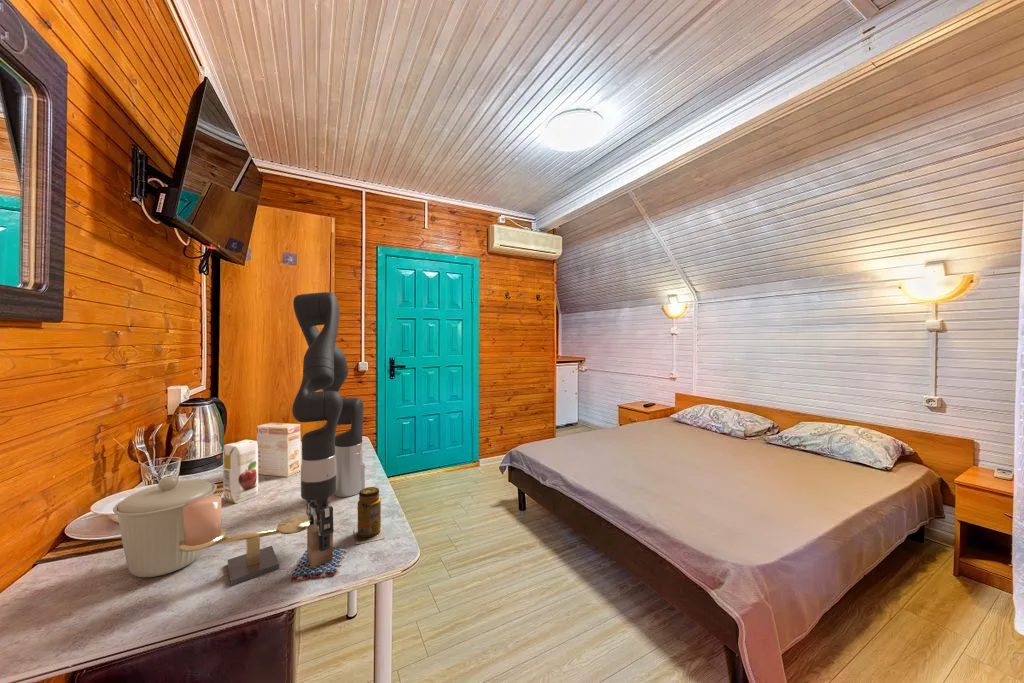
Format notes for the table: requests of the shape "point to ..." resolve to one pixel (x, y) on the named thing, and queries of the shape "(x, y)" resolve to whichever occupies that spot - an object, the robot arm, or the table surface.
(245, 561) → the balance
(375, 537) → the condiment
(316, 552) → the block
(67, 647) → the table surface
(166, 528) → the canister
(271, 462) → the coffeecake box
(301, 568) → the woven mat
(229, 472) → the juice carton
